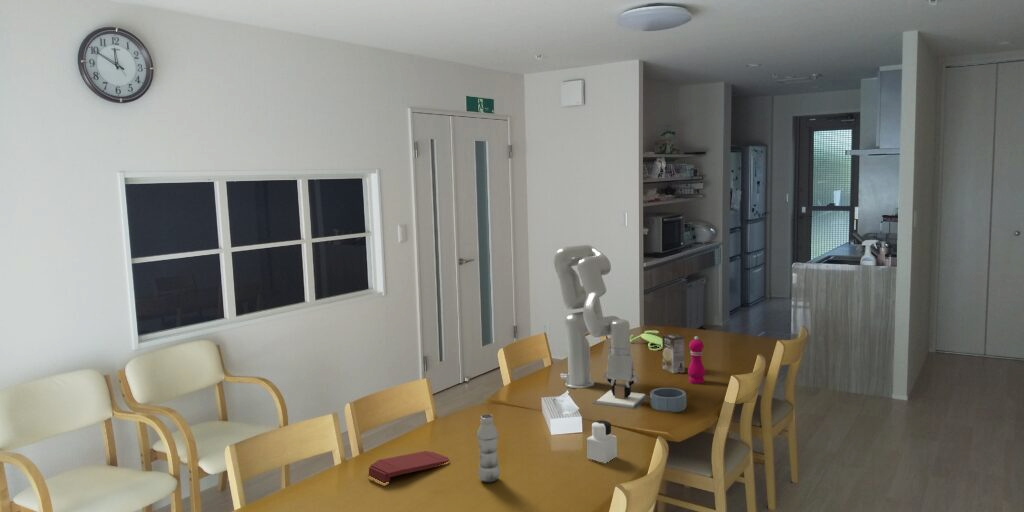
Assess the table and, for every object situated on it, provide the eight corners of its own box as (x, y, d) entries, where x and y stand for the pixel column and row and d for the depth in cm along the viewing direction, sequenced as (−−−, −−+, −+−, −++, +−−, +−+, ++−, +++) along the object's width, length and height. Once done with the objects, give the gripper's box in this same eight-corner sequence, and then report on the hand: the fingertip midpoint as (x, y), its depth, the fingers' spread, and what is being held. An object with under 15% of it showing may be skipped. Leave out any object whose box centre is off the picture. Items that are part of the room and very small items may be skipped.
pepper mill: (705, 384, 305) (705, 338, 302) (688, 384, 306) (687, 338, 304) (704, 379, 312) (704, 334, 309) (687, 379, 313) (687, 334, 311)
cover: (596, 403, 284) (596, 388, 284) (610, 392, 297) (609, 378, 297) (633, 407, 277) (632, 392, 276) (645, 396, 290) (645, 381, 290)
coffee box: (661, 369, 331) (661, 334, 329) (673, 367, 333) (673, 333, 331) (673, 373, 322) (673, 338, 320) (685, 371, 325) (685, 337, 323)
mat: (591, 404, 284) (591, 403, 284) (608, 391, 299) (608, 390, 299) (635, 410, 275) (635, 409, 275) (650, 396, 291) (650, 395, 291)
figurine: (651, 337, 394) (651, 327, 393) (683, 347, 370) (683, 336, 370) (623, 342, 386) (623, 332, 386) (653, 352, 362) (653, 341, 362)
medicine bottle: (598, 452, 236) (597, 417, 235) (617, 457, 231) (616, 421, 230) (586, 459, 230) (585, 423, 229) (605, 464, 226) (604, 427, 225)
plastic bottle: (499, 475, 221) (497, 412, 219) (500, 484, 214) (497, 419, 212) (478, 476, 221) (476, 413, 219) (478, 485, 214) (475, 420, 212)
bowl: (646, 409, 276) (646, 395, 275) (656, 399, 287) (656, 386, 287) (680, 414, 269) (680, 399, 269) (689, 403, 281) (689, 389, 280)
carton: (427, 464, 241) (364, 478, 223) (428, 450, 241) (365, 462, 223) (451, 474, 232) (387, 488, 215) (452, 459, 232) (388, 472, 214)
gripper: (596, 351, 286) (597, 395, 288) (637, 355, 278) (638, 400, 280) (603, 346, 292) (604, 390, 294) (644, 350, 284) (644, 395, 286)
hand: (621, 395), depth 287 cm, fingers open, 4 cm apart
